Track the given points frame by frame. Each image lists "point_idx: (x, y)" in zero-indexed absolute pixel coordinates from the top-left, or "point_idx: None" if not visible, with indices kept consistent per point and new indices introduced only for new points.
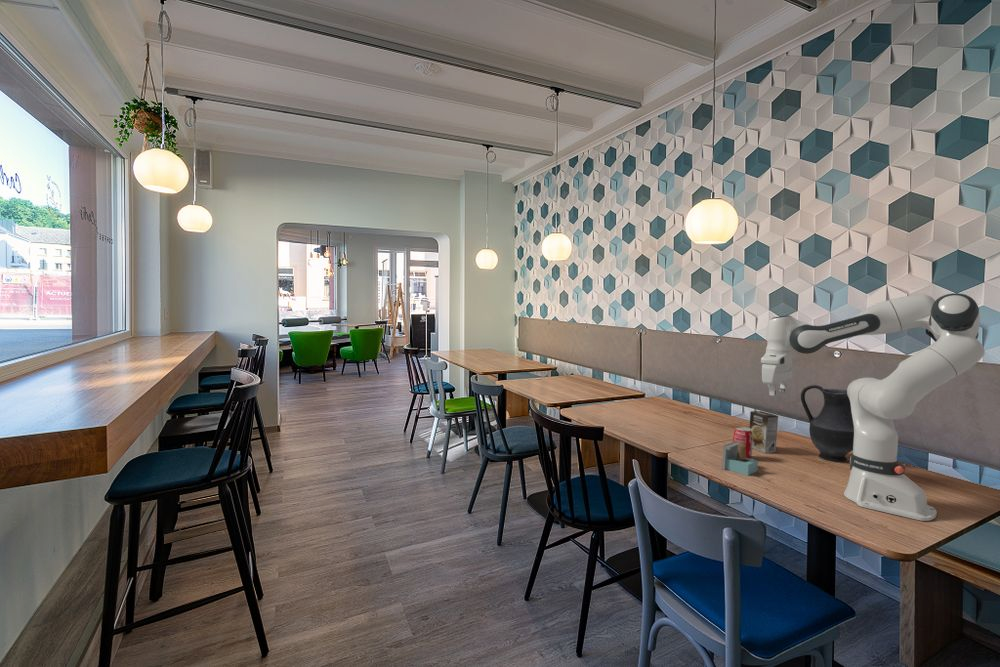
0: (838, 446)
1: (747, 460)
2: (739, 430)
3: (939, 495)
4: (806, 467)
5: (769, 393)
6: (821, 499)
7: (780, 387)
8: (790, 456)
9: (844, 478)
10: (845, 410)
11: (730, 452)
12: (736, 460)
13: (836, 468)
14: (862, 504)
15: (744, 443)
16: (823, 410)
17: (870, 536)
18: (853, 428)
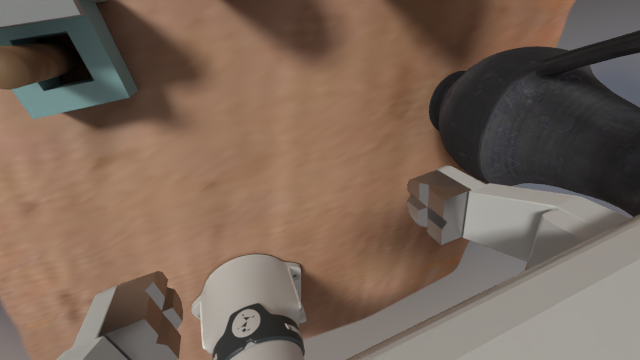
0: (447, 150)
1: (89, 69)
2: None
3: (376, 278)
4: (328, 123)
5: (94, 306)
6: (141, 275)
7: (473, 197)
8: (389, 37)
9: (328, 199)
10: (575, 191)
11: None
12: None
13: (383, 152)
14: (192, 312)
15: None
16: (580, 123)
17: None
18: (512, 184)
